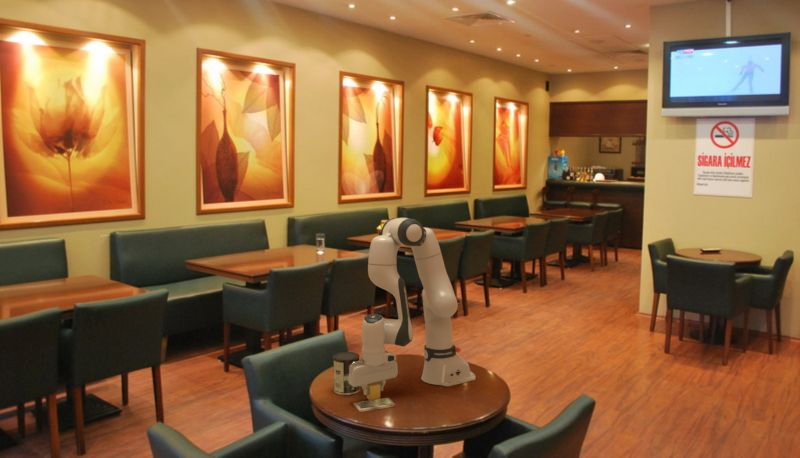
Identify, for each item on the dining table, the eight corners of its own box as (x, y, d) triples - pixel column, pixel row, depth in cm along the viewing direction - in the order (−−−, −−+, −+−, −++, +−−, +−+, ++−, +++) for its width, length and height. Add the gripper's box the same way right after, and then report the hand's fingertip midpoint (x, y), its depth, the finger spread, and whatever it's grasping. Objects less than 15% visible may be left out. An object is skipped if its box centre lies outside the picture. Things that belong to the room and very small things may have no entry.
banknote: (388, 399, 247) (388, 396, 247) (395, 406, 241) (395, 403, 241) (353, 405, 242) (353, 402, 242) (359, 412, 236) (359, 409, 236)
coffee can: (362, 386, 261) (362, 352, 259) (355, 396, 251) (355, 360, 249) (337, 384, 263) (337, 350, 261) (330, 394, 253) (329, 359, 251)
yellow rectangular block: (376, 396, 251) (376, 381, 250) (380, 400, 247) (380, 384, 246) (366, 397, 249) (366, 382, 249) (370, 401, 246) (370, 386, 245)
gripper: (353, 365, 238) (353, 401, 240) (400, 355, 249) (399, 389, 251) (345, 360, 243) (345, 395, 245) (390, 350, 255) (390, 384, 256)
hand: (373, 392), depth 248 cm, fingers open, 5 cm apart
